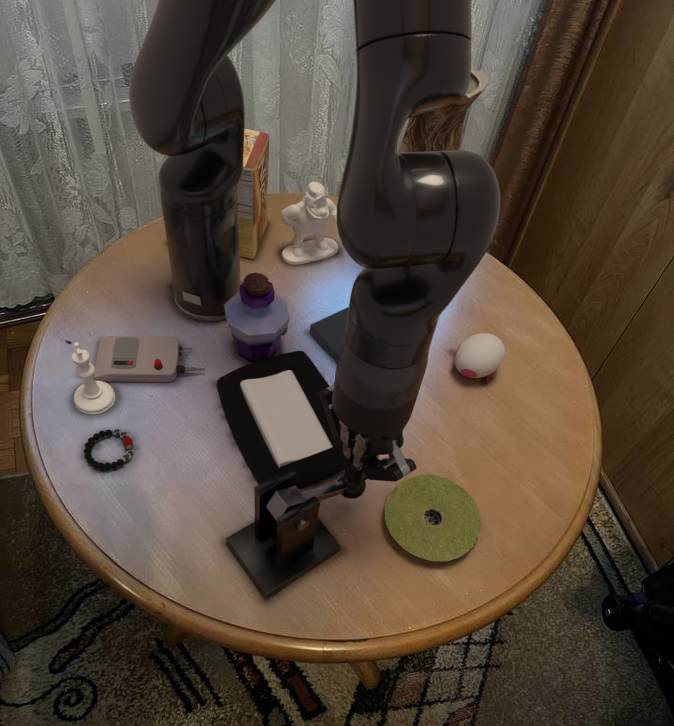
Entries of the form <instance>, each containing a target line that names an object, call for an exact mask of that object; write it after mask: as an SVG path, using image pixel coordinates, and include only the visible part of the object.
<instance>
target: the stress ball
mask: <svg viewBox="0 0 674 726" xmlns="http://www.w3.org/2000/svg"><path fill="white" fill-rule="evenodd" d="M490 332H491V331H489V332H481V333H476V334H473V335H470V336H469V337H467V338H466V339H464V341H462V342H461V343H460V344H459V346H458V347H457V349H456V351H455V352H454V351H452V353H454V365H455V367H456V369H457V371H458V372H459V373H460V374H461V375H463V376H464V377H467V378H471V379H479V378H480V379H481V378H484V377H485V383H488V382H490V380H491V378H489V377H488V376H489V375H491V374H492V373H494V372H495V371H497V370H498V368H500V366H501V365H502V363H503V362H504V358H505V354H506V348H505V344H504V342H503V341H502V339H500V337H498V336H496V335H495V334H493V333H490Z"/></svg>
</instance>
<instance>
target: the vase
mask: <svg viewBox="0 0 674 726" xmlns="http://www.w3.org/2000/svg"><path fill="white" fill-rule="evenodd" d="M489 84H490V77H489V75H488V73H486V72H485V71H484V70H483V69H478V70H476V68H475V65H473V64H472V63H471V75H470V82H469V86H468V89H467V91H466V93H465V94H464V96H463V97H462V98H461V99H460V100H458V101H457V102H455V103H453V104H451V105H449V106H447V107H444V108H441V109H438V110H434V111H430V112H426V113H422V114H419V115H416V116H413V117H411V118H408V120H407V121H408V122H407V124H406V127H405V130H404V133H403V137H402V140H401V142H400V146H399V149H398V150H397V153H404V152H429V151H444V150H460V145H461V139H462V134H463V128H464V123H465V119H466V116H467V112H468V110H469V108H470V106H472V104H473V103H474V102H475V101H476V100H477V98H479V97H480V96H481V94H482V93H483V92H484V91H485V90H486V89H487V88H488V86H489Z"/></svg>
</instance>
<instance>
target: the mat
mask: <svg viewBox="0 0 674 726" xmlns="http://www.w3.org/2000/svg"><path fill="white" fill-rule="evenodd" d="M481 517H482V516H481V514H480V510H479V506H478V505H477V503H476V501H475V500H474V498H473V497H472V496H471V494H470V493H469V492H468V491H466V489H465V488H464V487H462V486H461V485H460V484H458V483H457V482H456V481H453V480H451V479H448V478H447V477H444V476H440V475H436V474H428V473H427V474H418V475H414V476H410V477H407V478H405V479H403V480H401V481H400V482H399V483H397V484H396V485H395V486H394V487H393V488H392V489H391V491H390V493H389V494H388V496H387V498H386V502H385V507H384V520H385V524H386V527H387V529H388V531H389V533H390V535H391V537H392V538H393V539H394V541H395V542H396V543H397V544H398V545H399V546H401V547H402V549H403V550H405V552H406V551H407V552H408V553H409V554H410V555H411V554H412V555H413V556H415V557H417V558H420V559H423V560H427V561H430V562H449V561H452V560H456V559H459V558H461V557H463V556H464V555H466V554H467V553H468V552H470V551H471V549H473V548H474V546H475V545H476V543H477V542H478V540H479V537H480V533H481V529H482V518H481Z"/></svg>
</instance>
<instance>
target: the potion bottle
mask: <svg viewBox="0 0 674 726" xmlns="http://www.w3.org/2000/svg"><path fill="white" fill-rule="evenodd" d="M224 308H225V313H226V318H225V319H226V324H227V326H228V329H229V332H230V335H231V338H232V339H233V340H234V341H235V344H236V347H237V353H238V356H239V357H240V358H243V360H245V361H247V362H249V363H252V362H255V361H257V360H260V359H264V358H267V357H271V356H275V355H277V353H278V346H279V344H280V341H281V338H282V337H284V336H286V334H287V333H288V329H289V328H288V327H289V323H290V319H291V316H290V312H289V308H288V304H287V300H286V299H285V298H283V297H281V296H280V295H278V294H276V292H275V289H274V284H273V282H271V281H270V280H269V278H268V276H267V275H265V274H263V273H261V272H251V273H249V274H246V275H245V277H244V278H243V282H242V283H240V291H239V292H238V293H237V294H235V295H234V296H233V297H232V298H231V299H230V300H229V301H228V302H227V303H225V304H224Z"/></svg>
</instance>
